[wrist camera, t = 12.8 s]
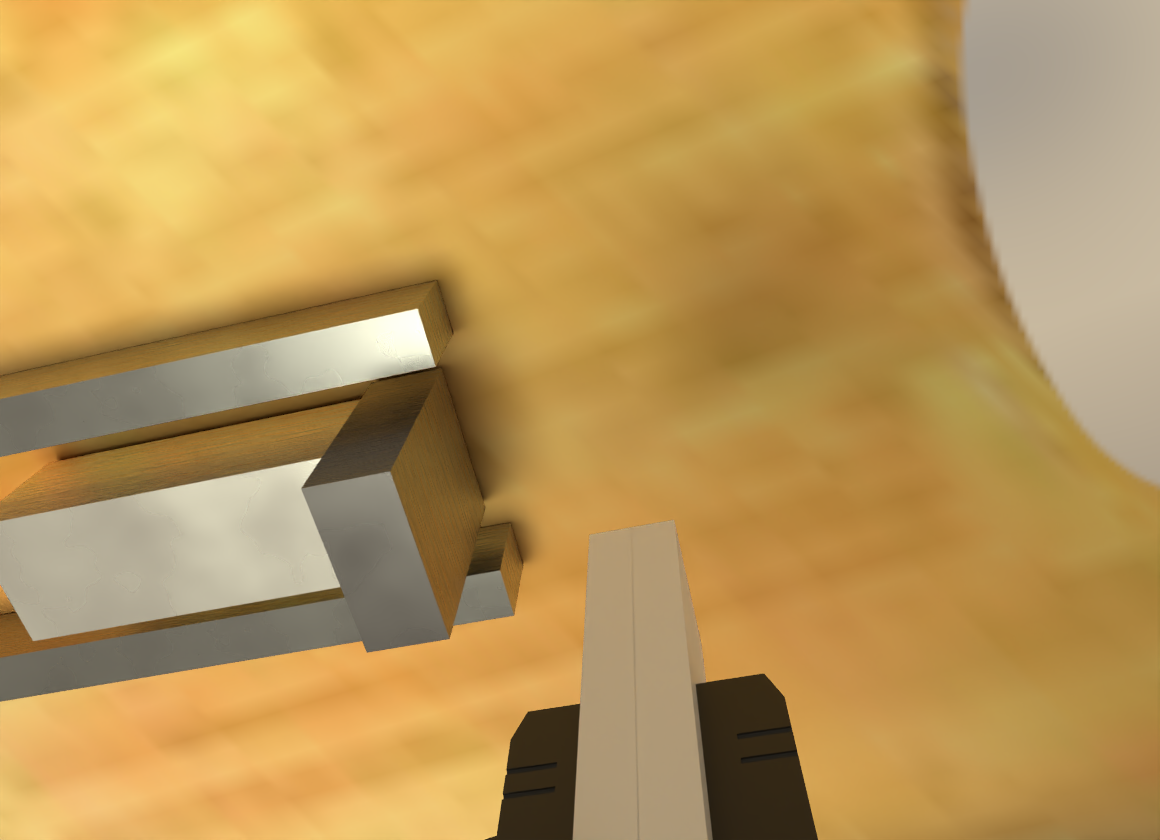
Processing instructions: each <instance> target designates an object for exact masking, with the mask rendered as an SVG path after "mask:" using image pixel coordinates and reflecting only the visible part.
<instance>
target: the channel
mask: <svg viewBox="0 0 1160 840" xmlns="http://www.w3.org/2000/svg"><path fill="white" fill-rule="evenodd" d="M452 334H453V331H452V328H451V325H450V322H449V318H448V315H447V312H446V308H445V305H444V302H443V298H442V295H441V292H440V289H439V285H438V282H437V280H435V281H431V282H426V283H422V284H417V285H413V286H408V287H404V288H399V289H394V290H390V291H385V292H381V293H376V294H372V295H367V296H363V297H358V298H353V299H349V300H344V301H340V302H335V303H331V304H326V305H322V306H317V307H313V308H308V309H303V310H299V311H294V312H290V313H285V314H281V315H276V316H272V317H267V318H263V319H258V320H253V321H249V322H244V323H240V324H235V325H231V326H226V327H222V328H217V329H212V330H208V331H203V332H199V333H194V334H190V335H185V336H181V337H176V338H172V339H167V340H162V341H158V342H153V343H149V344H144V345H140V346H135V347H131V348H126V349H122V350H117V351H112V352H108V353H103V354H99V355H94V356H90V357H85V358H81V359H76V360H71V361H67V362H62V363H58V364H53V365H49V366H44V367H40V368H35V369H31V370H26V371H21V372H17V373H12V374H8V375H3V376H0V457H2V456H7V455H11V454H16V453H21V452H26V451H31V450H36V449H40V448H45V447H50V446H55V445H60V444H65V443H69V442H74V441H79V440H84V439H89V438H94V437H98V436H103V435H108V434H113V433H118V432H123V431H127V430H132V429H137V428H142V427H147V426H152V425H156V424H161V423H166V422H171V421H176V420H181V419H185V418H190V417H195V416H200V415H205V414H210V413H214V412H219V411H224V410H229V409H234V408H239V407H243V406H248V405H253V404H258V403H263V402H268V401H272V400H277V399H282V398H287V397H292V396H297V395H301V394H306V393H311V392H316V391H321V390H326V389H330V388H335V387H340V386H345V385H350V384H355V383H359V382H364V381H369V380H374V379H379V378H384V377H388V376H393V375H398V374H403V373H408V372H413V371H417V370H422V369H427V368H432V367H436V365H437V363H438V361H439V359H440V358H441V356H442V354H443V352H444V350H445V348H446V346H447V344H448V342H449V340H450V338H451V336H452ZM522 568H523V563H522V560H521V556H520V553H519V550H518V546H517V543H516V540H515V537H514V533H513V530H512V527H511V523H506V524H501V525H495V526H490V527H484V528H480V529H479V533H478V536H477V540H476V544H475V547H474V551H473V555H472V558H471V562H470V566H469V569H468V573H467V577H466V580H465V584H464V588H463V591H462V595H461V599H460V602H459V606H458V610H457V613H456V617H455V621H454V624H453V626H454V625H460V624H466V623H472V622H478V621H484V620H490V619H496V618H502V617H508V616H514V614H515V608H516V602H517V597H518V591H519V585H520V580H521V574H522ZM359 641H362V639H361V636H360V634H359V631H358V629H357V626H356V624H355V621H354V619H353V617H352V614H351V612H350V609H349V607H348V604H347V602H346V599H345V597H344V594H343V592H342V589H341V587H338V588H332V589H327V590H321V591H315V592H310V593H304V594H298V595H293V596H287V597H281V598H276V599H270V600H264V601H259V602H253V603H247V604H242V605H236V606H230V607H225V608H219V609H213V610H207V611H202V612H196V613H190V614H185V615H179V616H173V617H168V618H162V619H156V620H151V621H145V622H139V623H134V624H128V625H122V626H117V627H111V628H105V629H100V630H94V631H88V632H83V633H77V634H71V635H66V636H60V637H54V638H49V639H43V640H37V641H33V640H32V638H31V637H30V635H29V633H28V631H27V630H26V628H25V626H24V624H23V623H22V621H21V619H20V618H19V616H18V614H17V612H15V613H10V614H4V615H0V701H6V700H12V699H18V698H24V697H30V696H36V695H42V694H48V693H54V692H60V691H66V690H72V689H78V688H84V687H90V686H96V685H102V684H108V683H114V682H120V681H126V680H132V679H138V678H144V677H150V676H156V675H162V674H168V673H174V672H180V671H186V670H192V669H198V668H203V667H209V666H215V665H221V664H227V663H233V662H239V661H245V660H251V659H257V658H263V657H269V656H275V655H281V654H287V653H293V652H299V651H305V650H311V649H317V648H323V647H329V646H335V645H341V644H347V643H353V642H359Z"/></svg>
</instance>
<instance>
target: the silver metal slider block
mask: <svg viewBox="0 0 1160 840" xmlns="http://www.w3.org/2000/svg"><path fill="white" fill-rule="evenodd" d="M484 511H485V505H484V502H483V498H482V495H481V492H480V489H479V486H478V482H477V479H476V476H475V473H474V470H473V466H472V463H471V460H470V457H469V454H468V450H467V447H466V444H465V441H464V438H463V434H462V431H461V428H460V425H459V422H458V418H457V415H456V412H455V409H454V406H453V402H452V399H451V396H450V393H449V390H448V386H447V383H446V380H445V377H444V374H443V371H442V368H441V369H436V370H431V371H426V372H421V373H417V374H412V375H407V376H402V377H397V378H392V379H387V380H383V381H378V382H373V383H371V385H370V386H369V388H368V389H367V391H366V392H365V394H364V395H363V397H362V398H361V399H359V400H354V401H349V402H344V403H340V404H335V405H330V406H325V407H320V408H315V409H310V410H305V411H300V412H296V413H291V414H286V415H281V416H276V417H271V418H266V419H261V420H256V421H251V422H247V423H242V424H237V425H232V426H227V427H222V428H217V429H212V430H207V431H203V432H198V433H193V434H188V435H183V436H178V437H173V438H168V439H163V440H158V441H154V442H149V443H144V444H139V445H134V446H129V447H124V448H119V449H114V450H110V451H105V452H100V453H95V454H90V455H85V456H80V457H75V458H70V459H65V460H61V461H56V462H51V463H48V464H47V465H46V466H45V467H43V468H42V469H41V470H39V471H38V472H37V473H36V474H34V475H33V476H32V477H31V478H29V479H28V480H27V481H26V482H24V483H23V484H22V485H21V486H19V487H18V488H17V489H15V490H14V491H13V492H12V493H10V494H9V495H8V496H7V497H5V498H4V499H3V500H2V501H0V585H1V587H2V588H3V590H4V592H5V594H6V595H7V597H8V599H9V600H10V602H11V604H12V606H13V607H14V609H15V611H16V612H17V614H18V616H19V618H20V619H21V621H22V623H23V624H24V626H25V628H26V630H27V631H28V633H29V635H30V637H31V638H32V640H33V641H37V640H43V639H49V638H54V637H60V636H66V635H71V634H77V633H83V632H88V631H94V630H100V629H105V628H111V627H117V626H122V625H128V624H134V623H139V622H145V621H151V620H156V619H162V618H168V617H173V616H179V615H185V614H190V613H196V612H202V611H207V610H213V609H219V608H225V607H230V606H236V605H242V604H247V603H253V602H259V601H264V600H270V599H276V598H281V597H287V596H293V595H298V594H304V593H310V592H315V591H321V590H327V589H332V588H338V587H341V589H342V592H343V594H344V597H345V599H346V602H347V604H348V607H349V609H350V612H351V614H352V617H353V619H354V621H355V624H356V626H357V629H358V631H359V634H360V636H361V639H362V641H363V644H364V646H365V649H366V651H367V652H373V651H379V650H385V649H391V648H397V647H403V646H409V645H415V644H421V643H427V642H433V641H440V640H446V639H450V635H451V632H452V628H453V624H454V621H455V617H456V613H457V610H458V606H459V602H460V599H461V595H462V591H463V588H464V584H465V580H466V577H467V573H468V569H469V566H470V562H471V558H472V555H473V551H474V547H475V544H476V540H477V536H478V533H479V529H480V525H481V522H482V518H483V515H484Z"/></svg>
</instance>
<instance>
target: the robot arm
mask: <svg viewBox="0 0 1160 840" xmlns="http://www.w3.org/2000/svg"><path fill="white" fill-rule="evenodd" d="M503 796H504V800H502V804H501V811H500V818H499V824H498V831H497V836H495V837H492V838H488V839H485V840H818V838H817V834H816V830H815V825H814V821H813V817H812V813H811V808H810V804H809V800H808V795H807V791H806V787H805V783H804V778H803V774H802V770H801V766H800V761H799V757H798V753H797V749H796V744H795V740H794V736H793V732H792V728H791V723H790V719H789V714H788V710H787V706H786V702H785V697H784V696H783V695H782V694H781V692H780V691H779V690H778V689H777V688H776V687H775V686H774V684H773V683H772V682H771V681H770V680H769V679H768V678H767V677H766V675H765V674H758V675H752V676H745V677H739V678H732V679H725V680H719V681H712V682H706V677H705V669H704V661H703V653H702V645H701V640H700V635H699V631H698V626H697V622H696V617H695V613H694V608H693V604H692V599H691V594H690V590H689V585H688V581H687V576H686V572H685V567H684V563H683V558H682V553H681V549H680V544H679V540H678V535H677V531H676V526H675V521H674V520H670V521H664V522H659V523H653V524H647V525H642V526H636V527H631V528H625V529H619V530H614V531H608V532H602V533H597V534H591V535H589V553H588V571H587V589H586V608H585V626H584V644H583V662H582V680H581V698H580V704H576V705H570V706H563V707H556V708H550V709H543V710H537V711H530V712H528V713H527V714H526V716H525V717H524V719H523V721H522V722H521V724H520V726H519V727H518V729H517V730H516V732H515V734H514V735H513V737H512V739H511V742H510V749H509V756H508V763H507V775H506V776H505V783H504V790H503Z"/></svg>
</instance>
